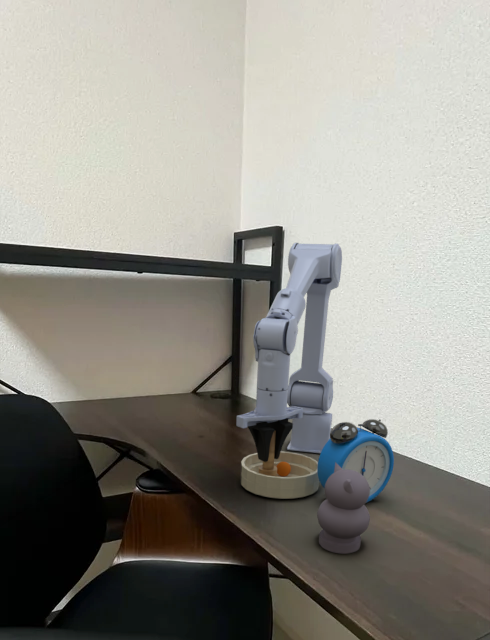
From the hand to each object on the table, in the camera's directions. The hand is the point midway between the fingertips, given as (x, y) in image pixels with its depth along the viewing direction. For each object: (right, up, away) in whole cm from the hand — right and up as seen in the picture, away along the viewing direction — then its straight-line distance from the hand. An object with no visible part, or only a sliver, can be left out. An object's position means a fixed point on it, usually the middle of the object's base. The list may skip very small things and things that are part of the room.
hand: (268, 458), depth 99 cm
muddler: (0, -3, +1) cm, 3 cm away
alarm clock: (+15, -8, -3) cm, 18 cm away
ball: (+3, -2, +4) cm, 6 cm away
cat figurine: (+11, -15, -19) cm, 27 cm away
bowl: (+2, -5, +2) cm, 6 cm away
